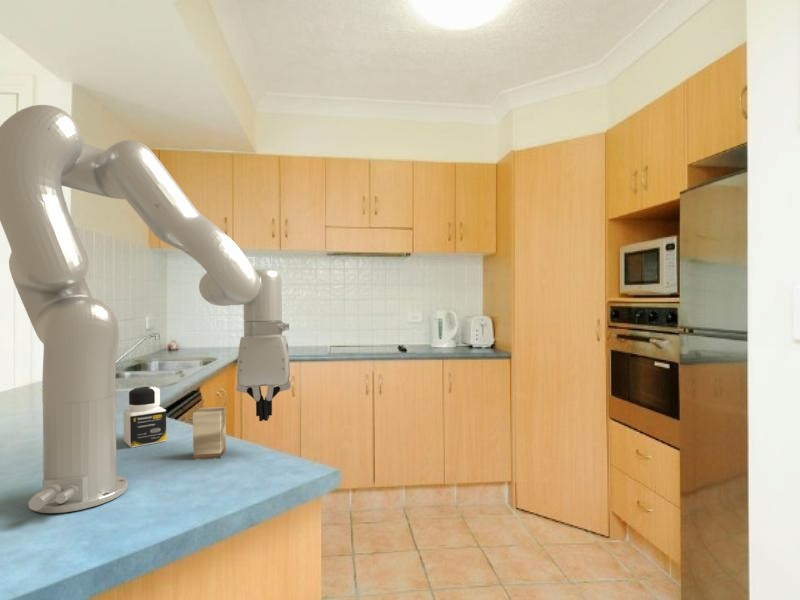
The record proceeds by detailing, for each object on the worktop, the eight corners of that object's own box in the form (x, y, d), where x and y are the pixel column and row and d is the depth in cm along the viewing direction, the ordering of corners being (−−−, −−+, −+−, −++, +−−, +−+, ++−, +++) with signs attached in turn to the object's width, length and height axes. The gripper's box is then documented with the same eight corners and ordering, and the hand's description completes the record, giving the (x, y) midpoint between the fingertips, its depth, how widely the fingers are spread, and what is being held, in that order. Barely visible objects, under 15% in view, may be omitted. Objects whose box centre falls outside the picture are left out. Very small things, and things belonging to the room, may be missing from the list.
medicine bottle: (130, 448, 98) (129, 392, 99) (123, 441, 104) (122, 387, 104) (166, 441, 103) (166, 387, 103) (158, 435, 108) (157, 383, 109)
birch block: (220, 458, 91) (219, 412, 91) (193, 459, 90) (192, 413, 90) (225, 450, 96) (225, 406, 96) (200, 451, 95) (200, 408, 95)
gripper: (301, 328, 100) (302, 413, 100) (229, 329, 98) (230, 417, 97) (299, 329, 92) (300, 422, 92) (220, 331, 90) (221, 426, 90)
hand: (264, 419), depth 95 cm, fingers closed
